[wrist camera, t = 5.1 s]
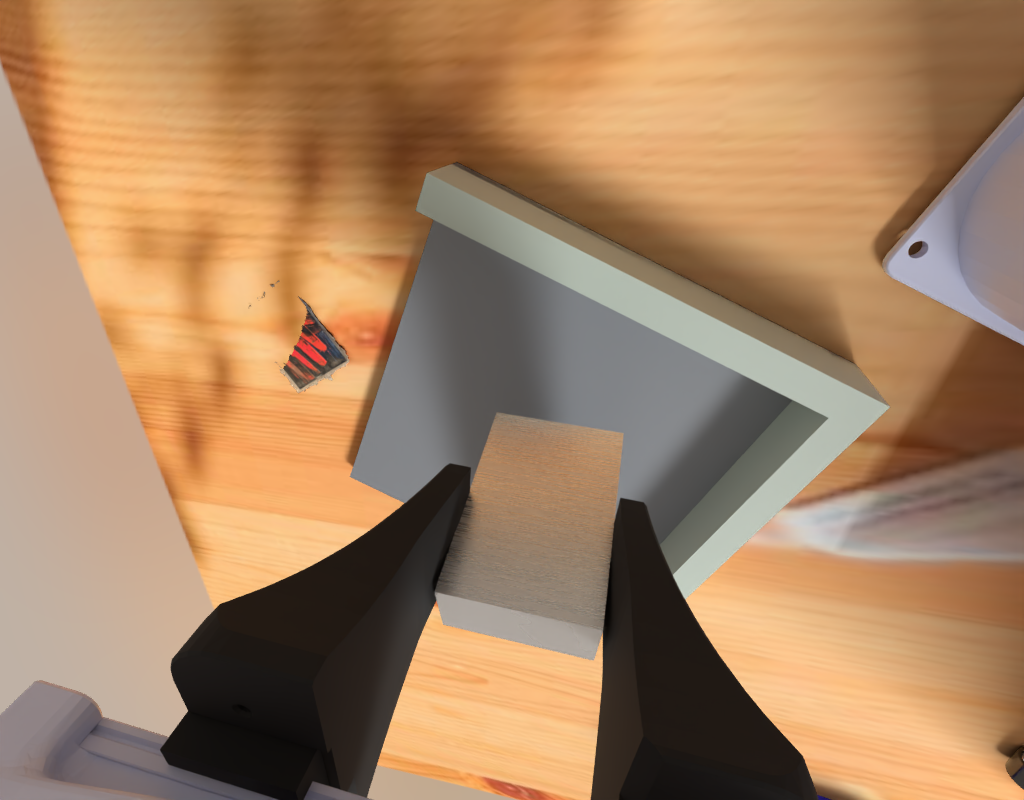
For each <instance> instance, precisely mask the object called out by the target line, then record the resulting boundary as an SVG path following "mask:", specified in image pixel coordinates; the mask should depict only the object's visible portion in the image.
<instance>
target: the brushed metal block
mask: <svg viewBox="0 0 1024 800" xmlns="http://www.w3.org/2000/svg"><path fill="white" fill-rule="evenodd" d="M623 435H624V433H620V432H614V431H608V430H602V429H596V428H589V427H583V426H577V425H571V424H565V423H559V422H553V421H547V420H541V419H535V418H529V417H522V416H516V415H510V414H504V413H498V412H497V413H496V416H495V418H494V421H493V424H492V427H491V430H490V433H489V436H488V439H487V442H486V444H485V447H484V450H483V453H482V456H481V459H480V462H479V465H478V467H477V470H476V473H475V476H474V479H473V482H472V485H471V488H470V493H469V496H468V499H467V502H466V504H465V507H464V510H463V513H462V516H461V519H460V522H459V525H458V527H457V529H456V531H455V534H454V537H453V540H452V542H451V545H450V548H449V551H448V554H447V557H446V560H445V563H444V566H443V568H442V571H441V574H440V577H439V580H438V583H437V586H436V589H435V596H436V600H437V603H438V607H439V611H440V614H441V618H442V622H443V625H447V626H452V627H456V628H460V629H464V630H468V631H472V632H477V633H481V634H485V635H489V636H493V637H498V638H502V639H506V640H510V641H514V642H518V643H523V644H527V645H531V646H535V647H539V648H543V649H548V650H552V651H556V652H560V653H564V654H569V655H573V656H577V657H581V658H585V659H589V660H594V658H595V655H596V652H597V648H598V645H599V642H600V639H601V636H602V632H603V626H604V617H605V607H606V598H607V588H608V578H609V569H610V559H611V550H612V540H613V531H614V521H615V512H616V502H617V493H618V483H619V473H620V464H621V454H622V445H623Z"/></svg>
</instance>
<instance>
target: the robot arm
mask: <svg viewBox="0 0 1024 800" xmlns="http://www.w3.org/2000/svg"><path fill="white" fill-rule="evenodd" d="M918 241H922V248H921V249H920V251H918V252H917V253H916V254H913V255H908V250H909V248H910V246H911V245H912V244H914V243H915V242H918ZM882 267H883V270H884V272H885V273H886V274H888V275H889V276H890V277H892V278H894V279H895V280H897V281H899V282H901V283H903V284H905V285H907V286H909V287H911V288H913V289H915V290H917V291H919V292H921V293H923V294H925V295H926V296H928V297H930V298H932V299H934V300H936V301H938V302H940V303H942V304H944V305H946V306H948V307H950V308H952V309H954V310H956V311H958V312H959V313H961V314H963V315H965V316H967V317H969V318H971V319H973V320H975V321H977V322H979V323H981V324H983V325H985V326H987V327H989V328H991V329H992V330H994V331H996V332H998V333H1000V334H1002V335H1004V336H1006V337H1008V338H1010V339H1012V340H1014V341H1016V342H1018V343H1020V344H1022V345H1024V97H1023V98H1022V99H1021V101H1020V102H1019V103H1018V104H1017V105H1016V106H1015V107H1014V109H1013V110H1012V111H1011V112H1010V113H1009V114H1008V116H1007V117H1006V118H1005V119H1004V120H1003V121H1002V122H1001V124H1000V125H999V126H998V127H997V128H996V129H995V130H994V132H993V133H992V134H991V135H990V136H989V137H988V138H987V140H986V141H985V142H984V143H983V144H982V145H981V147H980V148H979V149H978V150H977V151H976V152H975V153H974V155H973V156H972V157H971V158H970V159H969V160H968V161H967V163H966V164H965V165H964V166H963V167H962V168H961V169H960V171H959V172H958V173H957V174H956V175H955V176H954V178H953V179H952V180H951V181H950V182H949V183H948V184H947V186H946V187H945V188H944V189H943V190H942V191H941V192H940V194H939V195H938V196H937V197H936V198H935V199H934V200H933V202H932V203H931V204H930V205H929V206H928V207H927V209H926V210H925V211H924V212H923V213H922V214H921V215H920V217H919V218H918V219H917V220H916V221H915V222H914V223H913V225H912V226H911V227H910V228H909V229H908V230H907V231H906V233H905V234H904V235H903V236H902V237H901V238H900V240H899V241H898V242H897V243H896V244H895V245H894V246H893V248H892V249H891V250H890V251H889V252H888V253H887V255H886V256H885V258H884V259H883V264H882ZM470 478H471V467H467V466H462V465H457V464H452V463H449V464H448V465H446V466H445V467H444V468H443V469H442V470H441V471H440V472H439V473H438V474H437V475H436V476H435V477H434V478H433V479H432V480H430V481H429V482H428V483H427V484H426V485H425V486H424V487H423V488H422V489H421V490H420V491H418V492H417V493H416V494H415V495H414V496H413V497H411V498H410V499H409V500H408V501H407V502H406V503H404V504H403V505H402V506H401V507H400V508H399V509H397V510H396V511H395V512H393V513H392V514H391V515H390V516H388V517H387V518H386V519H384V520H383V521H382V522H380V523H379V524H378V525H376V526H375V527H374V528H372V529H371V530H370V531H368V532H367V533H365V534H364V535H362V536H361V537H359V538H358V539H356V540H355V541H353V542H352V543H350V544H349V545H347V546H345V547H344V548H342V549H341V550H339V551H337V552H335V553H334V554H332V555H330V556H328V557H327V558H325V559H323V560H321V561H320V562H318V563H316V564H314V565H312V566H310V567H308V568H306V569H304V570H302V571H300V572H298V573H296V574H294V575H292V576H290V577H287V578H285V579H283V580H281V581H279V582H276V583H274V584H272V585H269V586H267V587H265V588H262V589H260V590H257V591H254V592H252V593H249V594H246V595H244V596H241V597H238V598H236V599H233V600H230V601H227V602H225V603H222V604H220V605H219V606H218V607H217V608H216V609H215V610H214V611H213V612H212V613H211V614H210V615H209V616H208V617H207V618H206V619H205V620H204V622H203V623H202V624H201V625H200V626H199V627H198V629H197V630H196V631H195V632H194V633H193V635H192V636H191V637H190V638H189V640H188V641H187V642H186V643H185V644H184V645H183V647H182V648H181V649H180V650H179V652H178V653H177V654H176V655H175V656H174V658H173V659H172V662H171V673H172V676H173V680H174V682H175V684H176V686H177V688H178V690H179V692H180V694H181V697H182V699H183V701H184V703H185V705H186V707H187V709H188V712H187V713H186V715H185V716H184V717H183V719H182V720H181V722H180V723H179V725H178V726H177V727H176V728H175V730H174V731H173V732H172V734H171V735H170V737H167V736H164V735H160V734H157V733H154V732H151V731H148V730H144V729H141V728H138V727H134V726H131V725H128V724H125V723H122V722H118V721H115V720H112V719H109V718H105V717H102V712H101V710H100V708H99V706H98V705H97V703H96V702H95V701H94V700H93V699H92V698H90V697H88V696H87V695H85V694H83V693H81V692H78V691H75V690H72V689H68V688H65V687H62V686H58V685H55V684H52V683H48V682H45V681H41V680H40V681H35V682H34V683H33V684H32V685H31V686H30V687H29V688H28V689H27V690H25V692H24V693H22V694H21V695H20V696H19V697H18V698H17V699H16V700H15V701H14V702H13V703H12V704H11V705H10V706H9V707H8V708H7V709H6V710H5V711H4V712H3V713H2V714H1V715H0V800H372V799H369V798H367V795H368V791H369V788H370V785H371V782H372V779H373V775H374V772H375V769H376V766H377V762H378V759H379V756H380V753H381V750H382V747H383V743H384V740H385V737H386V734H387V731H388V728H389V725H390V722H391V719H392V716H393V713H394V710H395V707H396V704H397V701H398V698H399V695H400V692H401V689H402V686H403V683H404V680H405V677H406V674H407V671H408V669H409V666H410V663H411V660H412V657H413V655H414V652H415V649H416V646H417V643H418V640H419V638H420V636H421V633H422V631H423V628H424V626H425V624H426V621H427V619H428V617H429V615H430V613H431V611H432V609H433V607H434V604H435V602H436V596H435V589H436V586H437V583H438V580H439V577H440V574H441V571H442V568H443V566H444V563H445V560H446V557H447V554H448V551H449V548H450V545H451V542H452V540H453V537H454V534H455V531H456V529H457V527H458V525H459V522H460V519H461V516H462V513H463V510H464V507H465V504H466V502H467V499H468V496H469V493H470ZM591 800H819V799H818V796H817V793H816V790H815V787H814V785H813V782H812V779H811V776H810V774H809V771H808V768H807V766H806V763H805V760H804V758H803V756H802V755H801V754H800V753H799V751H798V750H797V749H796V748H795V747H794V746H793V745H792V744H791V743H790V742H789V741H788V739H787V738H786V737H785V736H784V735H783V734H782V733H781V732H780V731H779V730H778V729H777V727H776V726H775V725H774V724H773V723H772V722H771V721H770V720H769V719H768V718H767V717H766V715H765V714H764V713H763V712H762V711H761V709H760V708H759V707H758V706H757V705H756V703H755V702H754V701H753V700H752V698H751V697H750V696H749V695H748V694H747V692H746V691H745V690H744V688H743V687H742V686H741V684H740V683H739V682H738V680H737V679H736V677H735V676H734V675H733V673H732V672H731V671H730V669H729V668H728V667H727V665H726V664H725V663H724V661H723V660H722V659H721V657H720V656H719V654H718V653H717V651H716V650H715V648H714V647H713V645H712V644H711V642H710V641H709V639H708V638H707V636H706V635H705V633H704V631H703V630H702V628H701V626H700V625H699V623H698V622H697V620H696V618H695V617H694V615H693V613H692V611H691V610H690V608H689V606H688V604H687V602H686V600H685V598H684V597H683V595H682V593H681V591H680V589H679V587H678V585H677V583H676V581H675V579H674V577H673V574H672V572H671V570H670V568H669V566H668V563H667V561H666V559H665V556H664V554H663V552H662V549H661V547H660V544H659V542H658V539H657V537H656V534H655V531H654V528H653V525H652V522H651V519H650V516H649V512H648V509H647V506H646V505H645V503H644V502H640V501H635V500H630V499H625V498H620V501H619V505H618V509H617V513H616V517H615V521H614V531H613V540H612V550H611V559H610V569H609V578H608V588H607V598H606V607H605V617H604V626H603V677H602V693H601V704H600V715H599V725H598V736H597V746H596V756H595V766H594V775H593V784H592V794H591Z"/></svg>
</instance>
